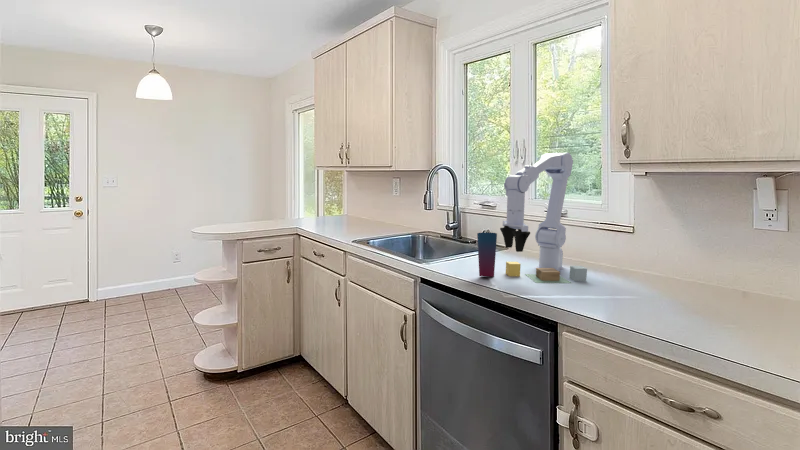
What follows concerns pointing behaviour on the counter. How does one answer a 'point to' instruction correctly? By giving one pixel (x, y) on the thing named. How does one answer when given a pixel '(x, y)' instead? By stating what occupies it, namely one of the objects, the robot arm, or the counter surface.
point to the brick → (578, 273)
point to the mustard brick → (513, 268)
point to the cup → (486, 253)
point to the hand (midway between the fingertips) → (513, 249)
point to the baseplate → (537, 280)
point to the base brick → (548, 274)
